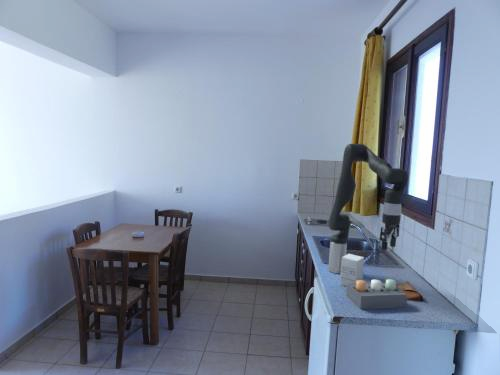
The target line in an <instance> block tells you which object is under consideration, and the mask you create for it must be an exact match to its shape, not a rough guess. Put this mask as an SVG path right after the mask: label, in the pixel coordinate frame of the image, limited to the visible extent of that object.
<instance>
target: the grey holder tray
mask: <svg viewBox="0 0 500 375" xmlns="http://www.w3.org/2000/svg"><path fill="white" fill-rule="evenodd" d="M385 284H386V282H382V285H381V291H372V290H371V282H367V286H366V292H358V291H357V290H356V283H355V284H347V287H346V290H345V296H346V297H347V298H348V299H349V300H350V301H351V302H352V303H353V304H354V305H355V306H357V308H358V309H359V310H366V309H367V310H369V309H393V308H406V303H407V302H406V301H407V300H406V294H405V293H403V292H402V291H401V290H399V289H398V288H396V291H388V290H386V289H385Z"/></svg>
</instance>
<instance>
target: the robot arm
mask: <svg viewBox="0 0 500 375" xmlns="http://www.w3.org/2000/svg"><path fill="white" fill-rule="evenodd" d="M342 157H343V158H342V163H341V164H342V165H341V172H340V176H339V181H338V183H337V184H338V185H337V189H336V193H335V194H336V195H335V198H334V203H333V206H332V209H331V212H330V215H329V218H328V227H329V229H330V231H338V232H337V233H335V234H332V235H331V236H330V243H329V244H330V245H329V255H328V256H329V257H328V268H327V270H328V271H329V272H330V273H333V274H338V275H339V274H341V261H342V257H343V256H345V255H347V250H348V249H347V248H348V246H347V245H348V240H349V234H350V226H351V220H350V216H349V215H348V214H342V213H341V212H342V211H343V209H344V208H345V207H346V206H347V205H348V204H349V202H351V201H352V199H353V197H354V195H355V192H356V188H357V183H356V180H355V177H354V175H353V170H352V168H353V165H354V164H353V163H354V162H355V163H357V162H364V163H366V164H368V168H369V169H370V171H372V172H373V173H375V174H376V175H378V176H379V178H380V179H381V181H382V182H383V183H385V184H387V185H393V186H392V188H390V189H387V190H386V191H385V193H384V202H383V208H382V219H381V222H382V223H383V224H384V226H382V227H381V226H380V234H379V241H381V250H383V251H387V250H388V243H389V244H390V247H392V248H395V247H396V244H397V243H396V242H397V239H398V238H399V237H400V227H401V226H400V225H401V220H402V218H401V216H402V200H403V194H404V191H405V188H406V187H407V185H408V181H409V174H408V172H407V170H406V169H404V168H393V166H392V165H391V164H390V162H388V161H386V160H384V159H383V158H381V157H379V156H378V155H376V154H375V153H374V152H373V151H372V150H371V149H370V148H369V147H368V146H367V145H366V144H362V143H348V144H346V146H345V148H344V152H343V155H342ZM389 239H390V242H388V241H389Z"/></svg>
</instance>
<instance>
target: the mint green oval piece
mask: <svg viewBox="0 0 500 375" xmlns="http://www.w3.org/2000/svg"><path fill="white" fill-rule="evenodd" d="M385 283H386V284H385V289H386V290H388V291H396V286H397V280H394V279H392V278H387V279H386V280H385Z"/></svg>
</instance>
